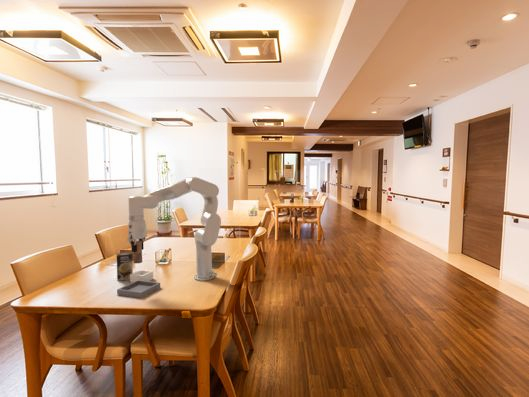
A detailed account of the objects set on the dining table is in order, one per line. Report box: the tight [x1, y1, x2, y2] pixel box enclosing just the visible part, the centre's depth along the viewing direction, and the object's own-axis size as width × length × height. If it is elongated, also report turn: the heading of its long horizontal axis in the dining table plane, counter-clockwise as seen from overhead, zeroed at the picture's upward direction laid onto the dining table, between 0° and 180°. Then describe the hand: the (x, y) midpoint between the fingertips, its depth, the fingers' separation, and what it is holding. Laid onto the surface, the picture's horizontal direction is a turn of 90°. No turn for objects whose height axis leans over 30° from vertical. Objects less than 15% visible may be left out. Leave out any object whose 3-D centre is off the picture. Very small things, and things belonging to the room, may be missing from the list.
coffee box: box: [115, 251, 134, 282], centre depth 192 cm, size 9×6×16 cm
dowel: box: [132, 239, 143, 264], centre depth 169 cm, size 4×4×12 cm
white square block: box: [129, 269, 154, 283], centre depth 189 cm, size 10×10×5 cm
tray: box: [116, 280, 161, 299], centre depth 171 cm, size 16×16×3 cm
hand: (137, 250), depth 169 cm, fingers closed on dowel, 4 cm apart
